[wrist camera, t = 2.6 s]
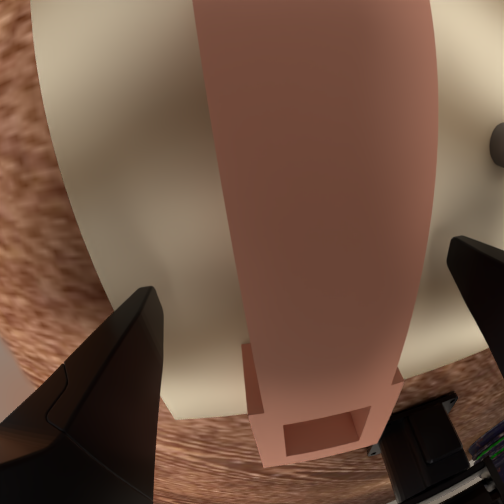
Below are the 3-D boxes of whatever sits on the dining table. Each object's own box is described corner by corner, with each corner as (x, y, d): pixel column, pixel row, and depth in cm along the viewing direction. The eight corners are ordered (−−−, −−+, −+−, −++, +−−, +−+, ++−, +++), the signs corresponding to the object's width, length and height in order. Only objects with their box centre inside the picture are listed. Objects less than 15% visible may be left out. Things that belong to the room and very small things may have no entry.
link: (359, 392, 14) (377, 443, 11) (256, 412, 14) (263, 467, 11) (375, -12, 6) (441, -37, 3) (177, -4, 6) (152, -47, 3)
